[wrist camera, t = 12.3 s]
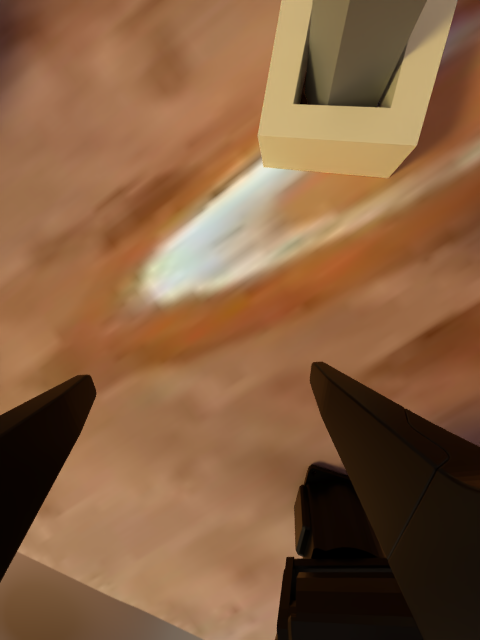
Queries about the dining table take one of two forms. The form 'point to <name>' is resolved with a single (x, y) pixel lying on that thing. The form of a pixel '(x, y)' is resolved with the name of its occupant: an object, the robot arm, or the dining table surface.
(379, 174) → the collar
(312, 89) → the post
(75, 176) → the dining table surface
